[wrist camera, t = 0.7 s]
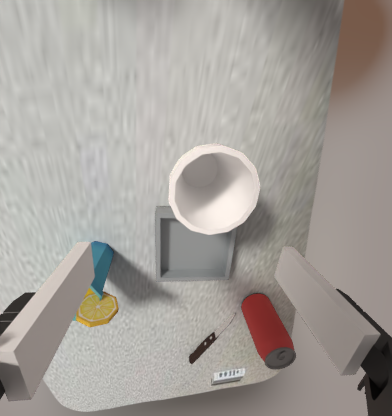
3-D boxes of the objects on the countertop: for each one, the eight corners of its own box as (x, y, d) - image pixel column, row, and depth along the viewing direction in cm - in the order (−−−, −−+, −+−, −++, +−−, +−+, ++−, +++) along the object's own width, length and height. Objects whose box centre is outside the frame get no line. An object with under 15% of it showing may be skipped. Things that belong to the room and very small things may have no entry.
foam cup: (222, 198, 34) (248, 236, 22) (168, 194, 33) (166, 233, 21) (231, 140, 31) (269, 150, 19) (172, 134, 30) (172, 139, 18)
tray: (156, 206, 34) (155, 213, 31) (234, 207, 35) (239, 214, 33) (157, 270, 39) (155, 281, 36) (224, 269, 40) (228, 279, 38)
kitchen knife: (191, 356, 51) (192, 364, 49) (188, 355, 50) (189, 363, 48) (236, 310, 46) (238, 317, 44) (232, 308, 46) (235, 316, 44)
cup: (59, 275, 37) (-9, 364, 23) (45, 239, 34) (-42, 317, 20) (136, 267, 38) (115, 348, 24) (129, 232, 35) (101, 301, 21)
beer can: (272, 293, 45) (305, 348, 34) (262, 314, 47) (290, 372, 36) (245, 290, 43) (270, 346, 32) (236, 312, 46) (257, 371, 35)
